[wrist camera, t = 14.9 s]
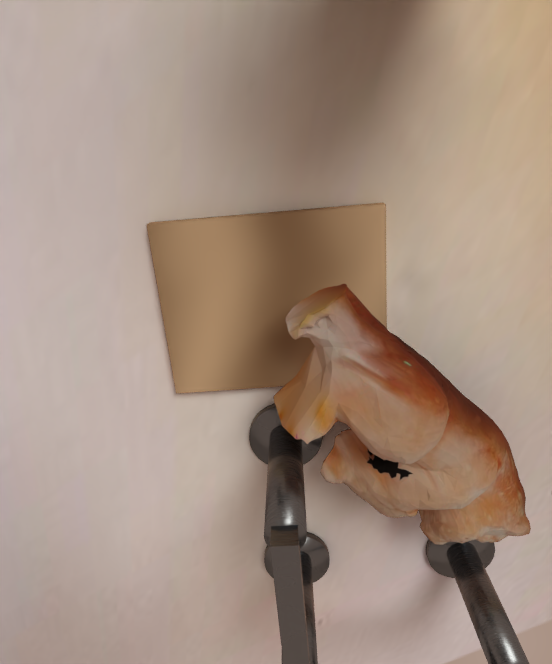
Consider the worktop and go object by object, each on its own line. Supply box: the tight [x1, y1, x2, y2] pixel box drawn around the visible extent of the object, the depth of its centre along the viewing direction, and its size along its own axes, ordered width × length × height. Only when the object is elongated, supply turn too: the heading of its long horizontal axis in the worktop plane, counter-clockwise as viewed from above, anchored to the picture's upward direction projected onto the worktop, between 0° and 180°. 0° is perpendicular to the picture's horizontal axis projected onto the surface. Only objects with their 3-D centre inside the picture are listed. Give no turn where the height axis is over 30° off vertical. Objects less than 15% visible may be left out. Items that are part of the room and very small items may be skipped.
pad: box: [147, 203, 387, 393], centre depth 22 cm, size 10×8×1 cm
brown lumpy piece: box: [274, 284, 531, 545], centre depth 22 cm, size 6×8×15 cm
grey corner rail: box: [249, 404, 529, 664], centre depth 23 cm, size 13×12×8 cm
